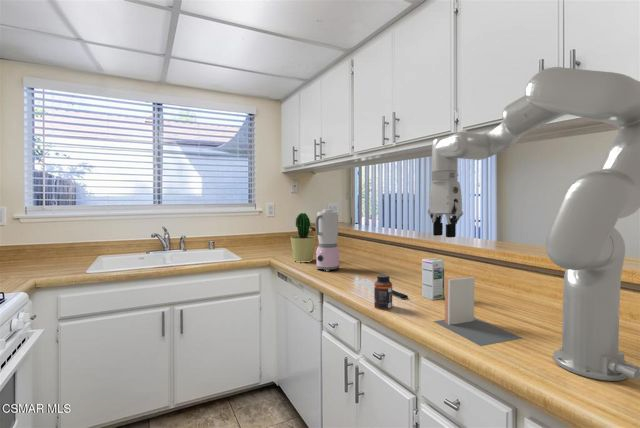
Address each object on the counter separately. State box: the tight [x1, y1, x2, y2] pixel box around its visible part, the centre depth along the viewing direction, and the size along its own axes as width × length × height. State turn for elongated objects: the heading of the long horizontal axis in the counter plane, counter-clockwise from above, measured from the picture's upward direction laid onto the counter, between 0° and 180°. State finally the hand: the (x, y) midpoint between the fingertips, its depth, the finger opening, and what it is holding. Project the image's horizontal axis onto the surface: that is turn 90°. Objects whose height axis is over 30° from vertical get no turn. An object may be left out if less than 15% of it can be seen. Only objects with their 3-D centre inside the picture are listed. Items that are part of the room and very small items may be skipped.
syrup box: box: [421, 257, 445, 301], centre depth 125 cm, size 6×6×14 cm
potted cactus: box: [290, 212, 317, 261], centre depth 203 cm, size 15×15×30 cm
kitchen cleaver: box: [352, 278, 409, 300], centre depth 137 cm, size 31×2×10 cm
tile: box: [444, 275, 475, 325], centre depth 98 cm, size 2×9×13 cm, turn 109°
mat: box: [433, 316, 523, 347], centre depth 93 cm, size 18×14×1 cm
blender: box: [314, 209, 340, 272], centre depth 177 cm, size 16×12×32 cm
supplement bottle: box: [373, 273, 393, 311], centre depth 113 cm, size 6×6×11 cm
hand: (444, 235), depth 104 cm, fingers open, 5 cm apart
